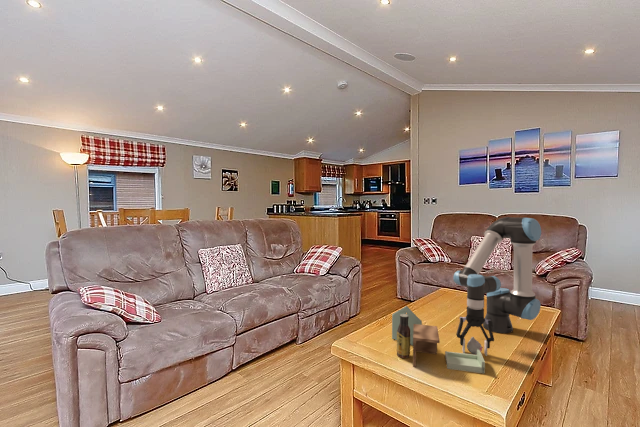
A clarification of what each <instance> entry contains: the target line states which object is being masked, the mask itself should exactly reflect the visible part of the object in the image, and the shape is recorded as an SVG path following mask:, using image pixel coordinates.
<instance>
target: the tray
mask: <svg viewBox="0 0 640 427" xmlns="http://www.w3.org/2000/svg"><path fill="white" fill-rule="evenodd" d="M444 358H445V365H446V369H447V370H452V371H455V370H456V371H462V372H469V373H476V374H485V373H486V361H485V359H484V357H483V354H482V351H481V352H480V350H477V354H472V353H466V352H465V353H463V352H457V351H456V352H453V351H447V350H446V351H444Z"/></svg>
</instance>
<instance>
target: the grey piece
mask: <svg viewBox="0 0 640 427" xmlns="http://www.w3.org/2000/svg"><path fill="white" fill-rule="evenodd" d="M400 314H407V315H408V316H409V319H408V326H409V328H410V346H412V347H413V326H414V324H419V325H423V323H422V320H421V319H420V317H418V316H417V315H416V314H415V313H414V312H413V311H412V310H411V308H409V306H407V305H405V306H404V307H402V308H400V309H398V310H397V311H395V312H393V313H392V314H391V317H392V318H391V322H392V323H391V340H392V339H395V340H397V330H398V327H399V324H400ZM395 340H394V341H395Z"/></svg>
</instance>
